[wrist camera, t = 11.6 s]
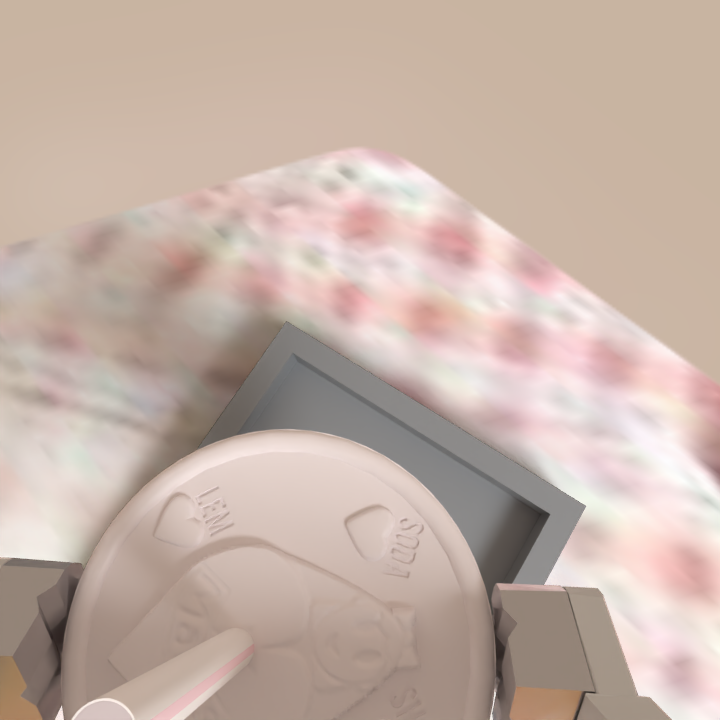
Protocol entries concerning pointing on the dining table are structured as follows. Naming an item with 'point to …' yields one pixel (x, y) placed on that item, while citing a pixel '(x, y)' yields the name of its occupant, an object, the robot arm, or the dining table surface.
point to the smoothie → (280, 594)
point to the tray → (410, 453)
